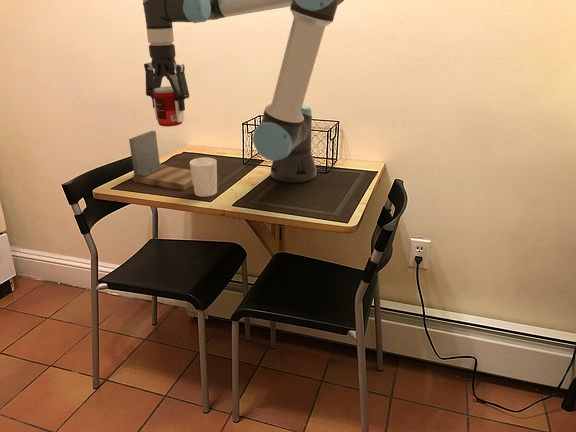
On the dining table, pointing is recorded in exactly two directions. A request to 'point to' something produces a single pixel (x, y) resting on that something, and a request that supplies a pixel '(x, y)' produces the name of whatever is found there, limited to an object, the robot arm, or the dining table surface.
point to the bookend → (145, 154)
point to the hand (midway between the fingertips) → (170, 119)
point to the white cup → (204, 176)
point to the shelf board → (168, 178)
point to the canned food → (166, 106)
